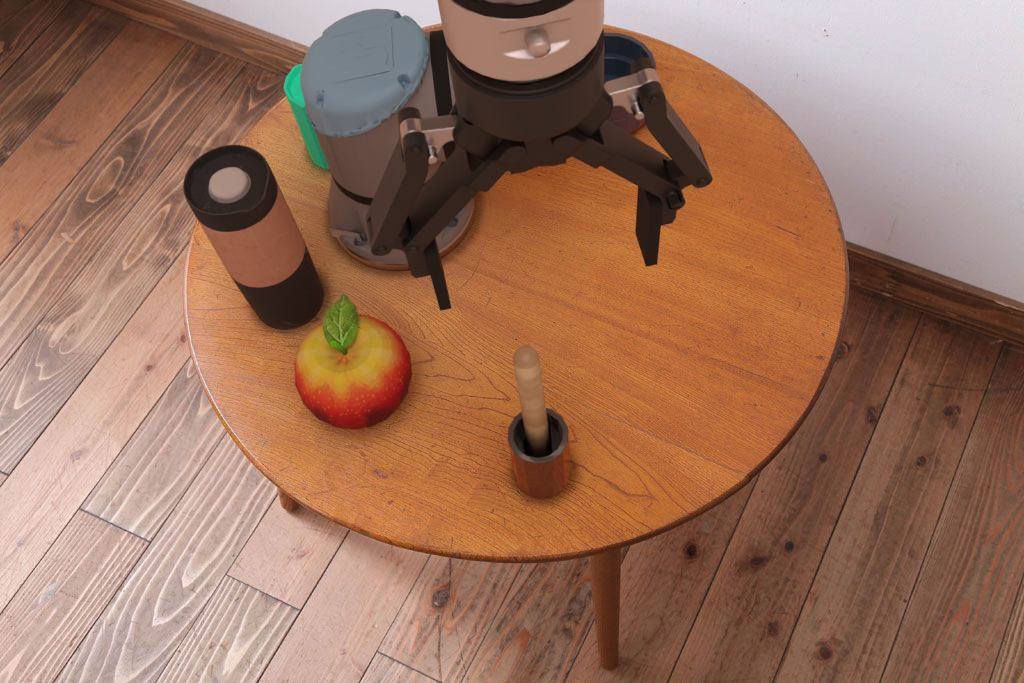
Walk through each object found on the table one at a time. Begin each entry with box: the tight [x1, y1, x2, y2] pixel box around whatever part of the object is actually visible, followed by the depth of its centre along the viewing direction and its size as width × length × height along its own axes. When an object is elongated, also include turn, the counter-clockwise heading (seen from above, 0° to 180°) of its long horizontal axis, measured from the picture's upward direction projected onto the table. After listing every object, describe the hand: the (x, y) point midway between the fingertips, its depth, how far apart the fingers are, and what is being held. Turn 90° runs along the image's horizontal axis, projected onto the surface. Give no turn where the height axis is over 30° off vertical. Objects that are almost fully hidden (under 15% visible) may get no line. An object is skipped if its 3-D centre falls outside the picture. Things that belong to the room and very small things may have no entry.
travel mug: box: [182, 144, 324, 331], centre depth 95 cm, size 8×8×20 cm
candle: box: [283, 63, 330, 171], centre depth 107 cm, size 6×6×12 cm
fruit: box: [293, 292, 413, 430], centre depth 93 cm, size 11×11×10 cm
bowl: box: [604, 32, 657, 134], centre depth 109 cm, size 10×10×6 cm
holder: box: [507, 407, 572, 500], centre depth 89 cm, size 5×5×9 cm
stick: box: [512, 344, 552, 458], centre depth 84 cm, size 2×2×19 cm
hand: (544, 270), depth 67 cm, fingers open, 13 cm apart
